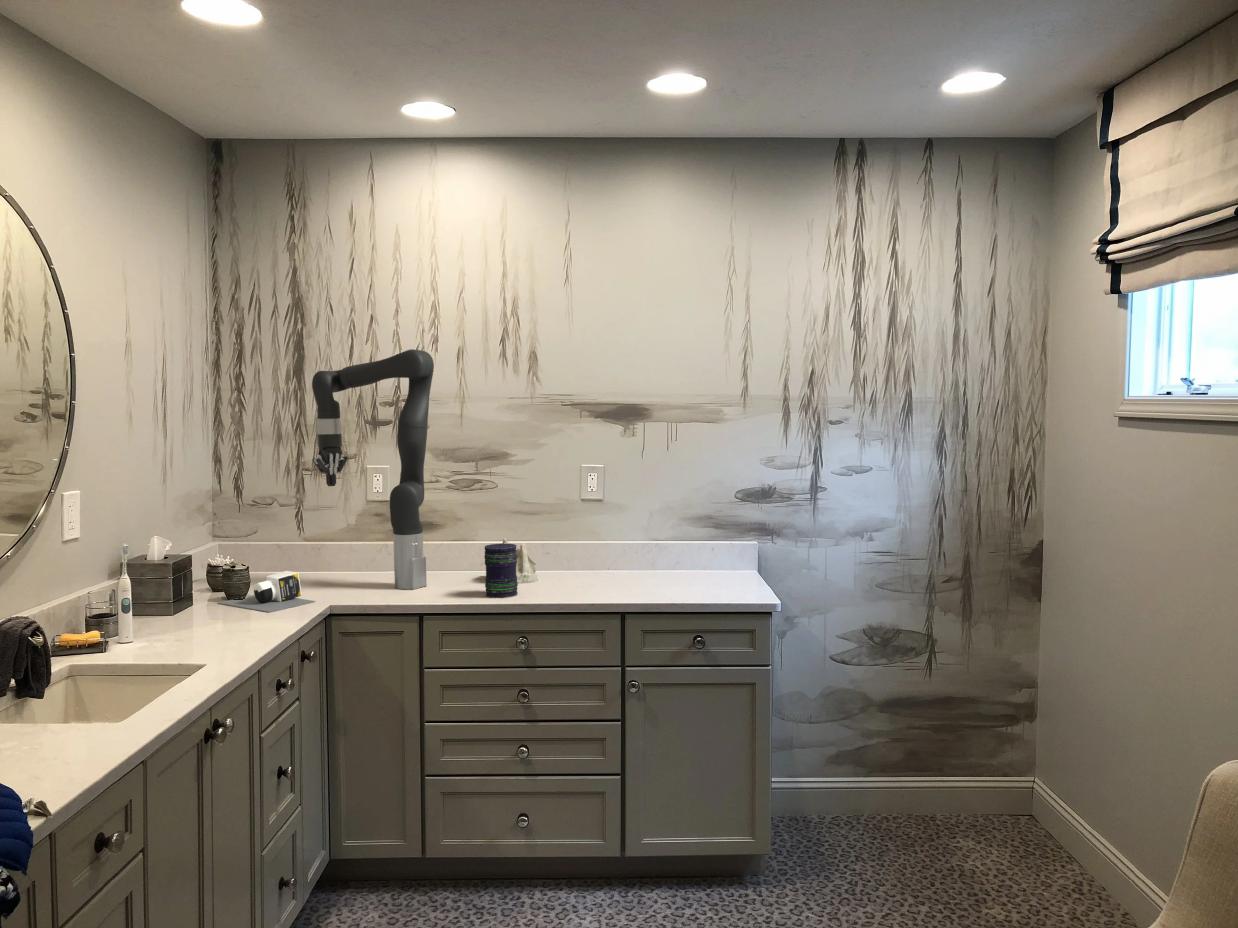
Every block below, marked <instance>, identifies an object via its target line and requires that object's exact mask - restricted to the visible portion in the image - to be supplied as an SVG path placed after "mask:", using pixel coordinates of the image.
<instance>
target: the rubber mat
mask: <svg viewBox="0 0 1238 928" xmlns="http://www.w3.org/2000/svg"><path fill="white" fill-rule="evenodd" d="M246 597H247V596H246ZM313 603H316V600H311V599H304V598H300V597H299V598H298V597H296V598H292V599H289V600H286V601H283V602H279V601H275V600H271V601H268V602H264V603H260V602H258V601H257V599H256V597H255V595H254V594H252V595H248V597H247V598H246V599H243V600H233V599H229V600H225V601H224V600H223V601H219V602H217V604H218V605H223V606H228V607H235V608H241V609H246V610H251V611H252V610H253V611H258V612H261V613H262V612H263V613H268V614H269V613H274V612H278V611H282V610H287V609H291V608H295V607H299V606H303V605H305V606H306V605H308V604H313Z"/></svg>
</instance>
